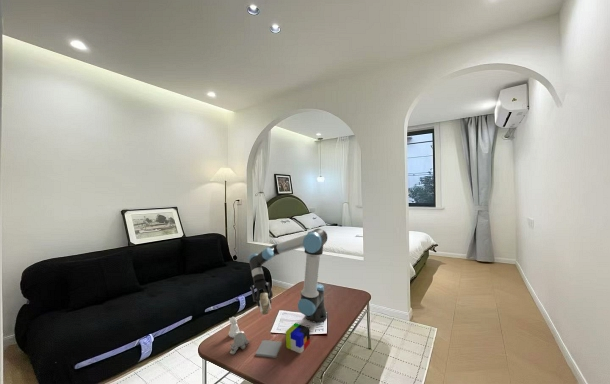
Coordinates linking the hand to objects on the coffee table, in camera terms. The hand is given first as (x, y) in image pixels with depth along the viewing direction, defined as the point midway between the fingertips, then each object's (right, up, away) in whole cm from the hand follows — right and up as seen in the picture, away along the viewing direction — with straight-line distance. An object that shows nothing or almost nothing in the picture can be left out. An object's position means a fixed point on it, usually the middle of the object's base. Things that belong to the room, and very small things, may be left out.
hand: (266, 310), depth 163 cm
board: (+4, -17, -13) cm, 22 cm away
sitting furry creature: (-20, -17, +2) cm, 26 cm away
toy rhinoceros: (-14, -18, -12) cm, 26 cm away
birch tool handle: (-1, -3, +4) cm, 5 cm away
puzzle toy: (+21, -17, -10) cm, 28 cm away
